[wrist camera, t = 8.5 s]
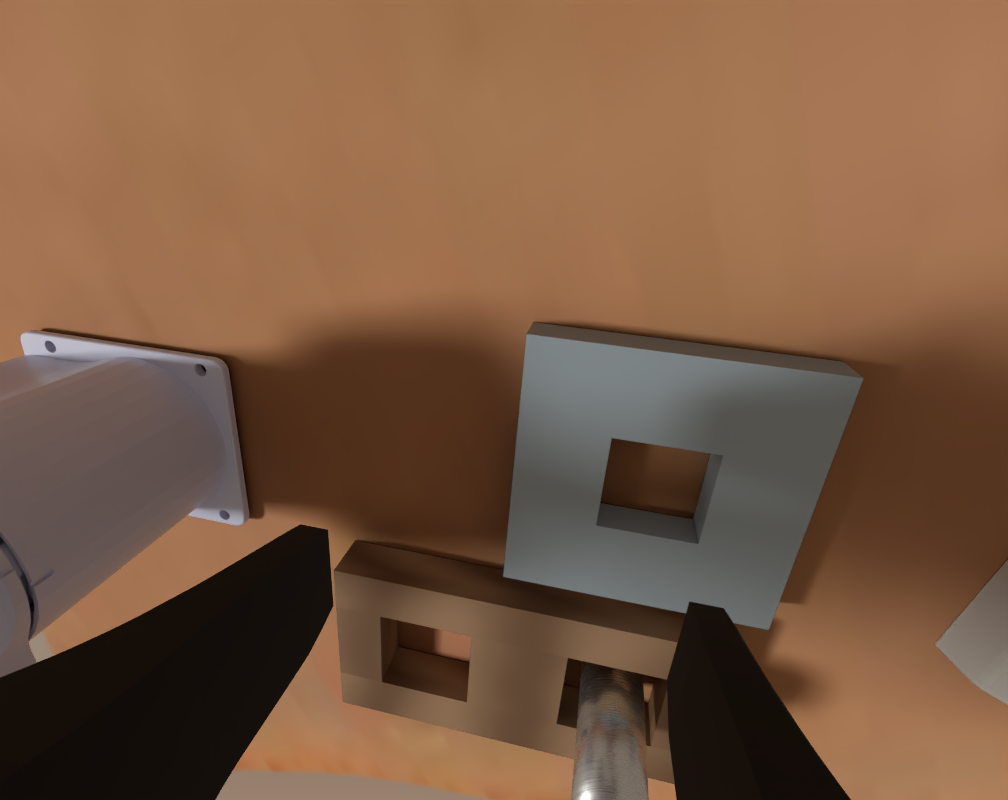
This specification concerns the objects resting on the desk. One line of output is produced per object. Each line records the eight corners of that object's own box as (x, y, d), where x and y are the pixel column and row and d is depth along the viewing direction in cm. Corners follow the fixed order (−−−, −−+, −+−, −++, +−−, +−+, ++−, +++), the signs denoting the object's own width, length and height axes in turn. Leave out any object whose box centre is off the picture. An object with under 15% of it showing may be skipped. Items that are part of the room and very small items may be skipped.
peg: (579, 672, 24) (564, 846, 18) (586, 630, 23) (574, 800, 17) (636, 684, 24) (642, 867, 18) (647, 642, 23) (657, 821, 17)
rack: (361, 666, 27) (342, 702, 25) (355, 540, 24) (333, 570, 22) (684, 743, 25) (689, 787, 23) (726, 614, 22) (736, 654, 20)
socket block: (509, 552, 22) (502, 576, 21) (533, 322, 18) (526, 333, 17) (758, 600, 21) (768, 630, 20) (844, 361, 17) (863, 378, 16)
